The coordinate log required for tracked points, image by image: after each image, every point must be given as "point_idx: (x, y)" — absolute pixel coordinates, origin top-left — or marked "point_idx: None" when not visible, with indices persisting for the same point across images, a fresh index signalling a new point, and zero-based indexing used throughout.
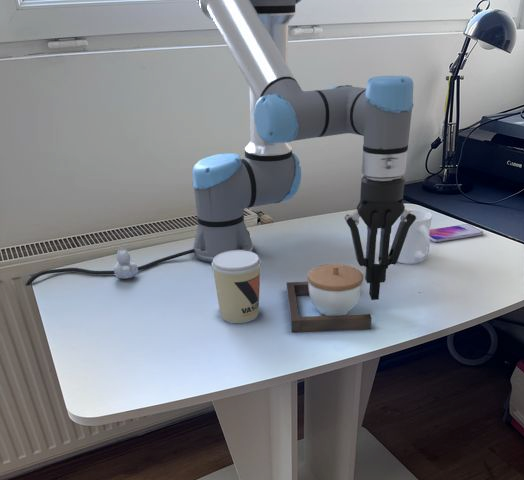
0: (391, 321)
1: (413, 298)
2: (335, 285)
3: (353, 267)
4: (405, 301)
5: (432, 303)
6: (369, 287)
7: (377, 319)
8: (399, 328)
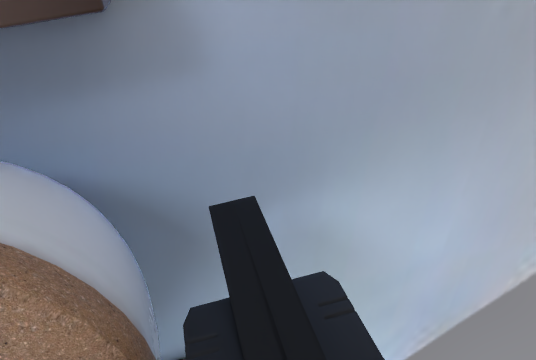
0: None
1: (461, 52)
2: None
3: (44, 321)
4: (410, 96)
5: (531, 103)
6: (215, 234)
7: None
8: None
